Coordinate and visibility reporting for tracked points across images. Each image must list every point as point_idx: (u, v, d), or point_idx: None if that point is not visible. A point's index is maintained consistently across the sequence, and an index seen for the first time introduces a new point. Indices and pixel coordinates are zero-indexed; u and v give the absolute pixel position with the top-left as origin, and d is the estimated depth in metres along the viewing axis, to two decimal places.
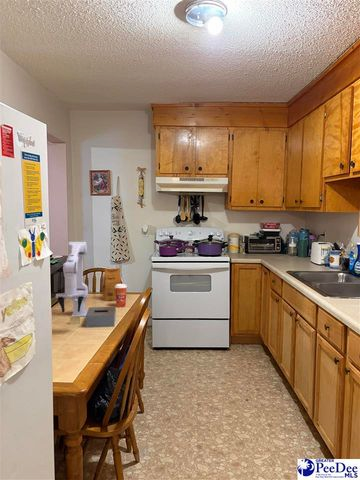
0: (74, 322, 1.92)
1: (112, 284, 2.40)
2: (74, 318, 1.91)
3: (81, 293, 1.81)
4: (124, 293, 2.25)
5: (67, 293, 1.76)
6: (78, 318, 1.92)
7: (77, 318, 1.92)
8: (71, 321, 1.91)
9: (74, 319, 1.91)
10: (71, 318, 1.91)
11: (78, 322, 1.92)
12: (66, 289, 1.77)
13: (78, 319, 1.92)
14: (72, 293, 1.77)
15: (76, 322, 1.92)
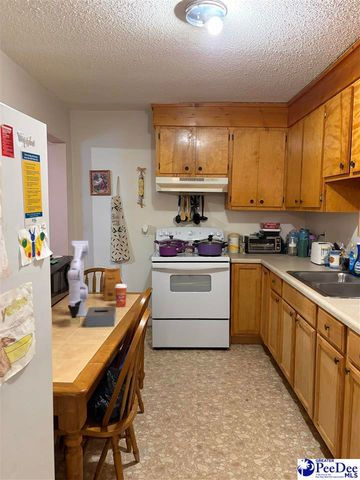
0: (74, 322, 1.92)
1: (112, 284, 2.40)
2: (74, 318, 1.91)
3: (75, 302, 1.87)
4: (124, 293, 2.25)
5: None
6: (78, 318, 1.92)
7: (77, 318, 1.92)
8: (71, 321, 1.91)
9: (74, 319, 1.91)
10: (71, 318, 1.91)
11: (78, 322, 1.92)
12: None
13: (78, 319, 1.92)
14: (69, 298, 1.90)
15: (76, 322, 1.92)
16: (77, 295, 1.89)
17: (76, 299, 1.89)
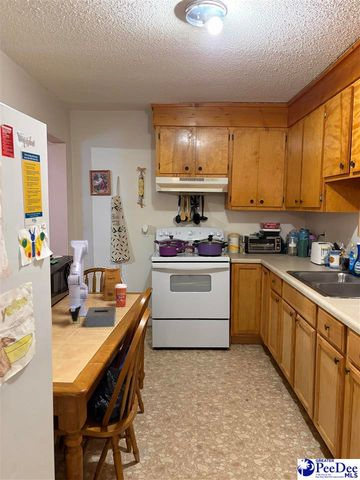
0: (74, 322, 1.92)
1: (112, 284, 2.40)
2: None
3: (75, 307, 1.87)
4: (124, 293, 2.25)
5: None
6: (78, 318, 1.92)
7: (77, 318, 1.92)
8: (71, 321, 1.91)
9: None
10: (71, 318, 1.91)
11: (78, 322, 1.92)
12: None
13: (78, 319, 1.92)
14: (69, 303, 1.90)
15: (76, 322, 1.92)
16: (77, 300, 1.90)
17: (76, 304, 1.89)
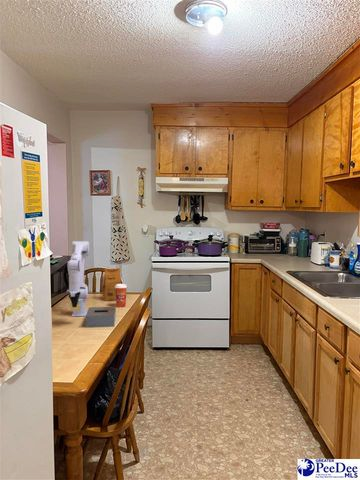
0: (74, 309, 1.91)
1: (112, 284, 2.40)
2: None
3: (75, 292, 1.86)
4: (124, 293, 2.25)
5: None
6: (78, 305, 1.91)
7: (77, 305, 1.91)
8: (71, 308, 1.91)
9: None
10: (71, 305, 1.91)
11: (78, 309, 1.91)
12: None
13: (78, 306, 1.91)
14: (69, 289, 1.89)
15: (76, 309, 1.91)
16: (77, 285, 1.89)
17: (76, 289, 1.89)
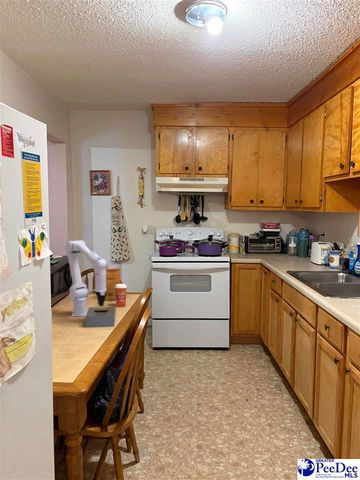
0: (101, 308, 1.94)
1: (112, 284, 2.40)
2: None
3: (104, 291, 1.90)
4: (124, 293, 2.25)
5: None
6: (105, 304, 1.94)
7: (104, 304, 1.94)
8: (98, 308, 1.93)
9: (100, 306, 1.94)
10: (98, 304, 1.93)
11: (105, 308, 1.95)
12: None
13: (105, 305, 1.94)
14: (96, 288, 1.92)
15: (103, 308, 1.94)
16: (104, 284, 1.92)
17: (103, 288, 1.92)
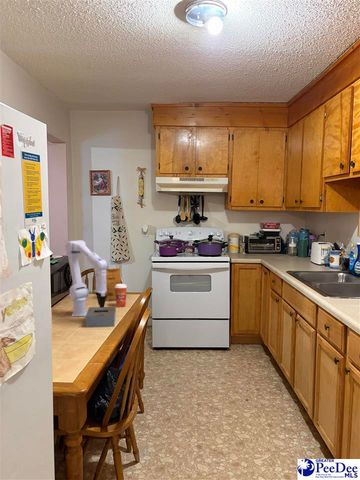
0: None
1: (112, 284, 2.40)
2: None
3: (104, 292, 1.90)
4: (124, 293, 2.25)
5: None
6: None
7: None
8: None
9: None
10: None
11: None
12: None
13: None
14: (96, 289, 1.92)
15: None
16: (104, 285, 1.92)
17: (104, 289, 1.92)
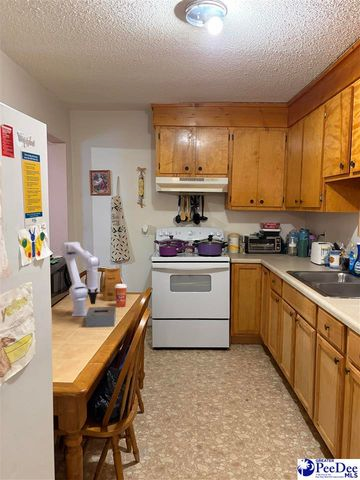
0: None
1: (112, 284, 2.40)
2: None
3: (94, 288, 1.91)
4: (124, 293, 2.25)
5: None
6: None
7: None
8: None
9: None
10: None
11: None
12: None
13: None
14: (87, 285, 1.94)
15: None
16: (95, 282, 1.94)
17: (94, 286, 1.94)
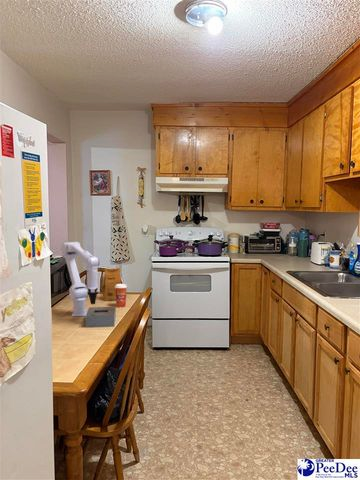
0: None
1: (112, 284, 2.40)
2: None
3: (94, 288, 1.91)
4: (124, 293, 2.25)
5: None
6: None
7: None
8: None
9: None
10: None
11: None
12: None
13: None
14: (87, 285, 1.94)
15: None
16: (95, 282, 1.94)
17: (94, 286, 1.94)
